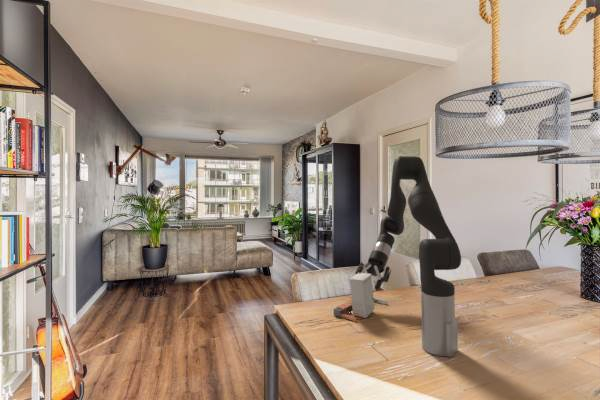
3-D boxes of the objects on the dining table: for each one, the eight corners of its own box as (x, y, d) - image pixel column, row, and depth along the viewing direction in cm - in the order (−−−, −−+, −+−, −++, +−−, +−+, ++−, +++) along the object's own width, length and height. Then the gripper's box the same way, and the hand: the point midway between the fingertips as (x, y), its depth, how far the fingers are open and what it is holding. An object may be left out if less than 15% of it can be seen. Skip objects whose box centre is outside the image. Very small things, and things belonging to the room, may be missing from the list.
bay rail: (367, 299, 141) (366, 292, 141) (387, 304, 134) (387, 297, 134) (333, 315, 122) (333, 308, 122) (355, 322, 115) (355, 314, 115)
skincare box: (366, 318, 118) (363, 281, 116) (351, 315, 122) (348, 278, 120) (375, 309, 125) (372, 273, 123) (361, 306, 128) (358, 271, 126)
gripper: (362, 247, 138) (348, 279, 130) (392, 251, 129) (379, 285, 121) (368, 257, 142) (355, 288, 134) (398, 261, 133) (386, 295, 125)
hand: (366, 287), depth 127 cm, fingers open, 8 cm apart
